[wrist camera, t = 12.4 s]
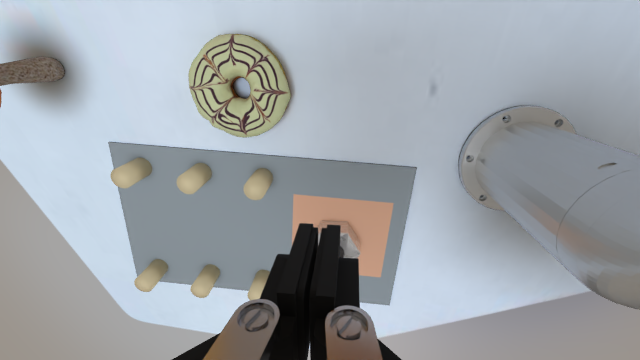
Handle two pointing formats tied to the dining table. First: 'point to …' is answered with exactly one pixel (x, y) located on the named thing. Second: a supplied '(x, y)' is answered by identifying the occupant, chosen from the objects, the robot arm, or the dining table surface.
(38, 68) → the mushroom
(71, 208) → the dining table surface
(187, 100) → the dining table surface
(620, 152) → the robot arm
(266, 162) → the spacer board
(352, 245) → the hex nut
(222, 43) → the decorated donut
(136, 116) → the dining table surface
